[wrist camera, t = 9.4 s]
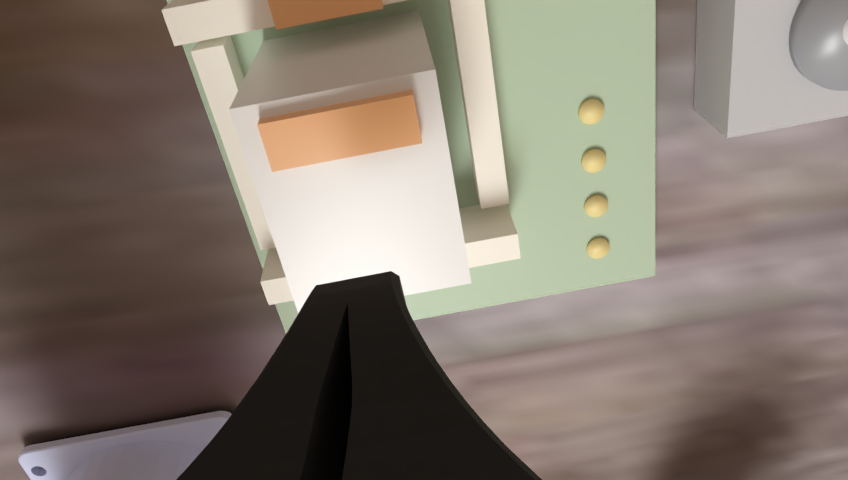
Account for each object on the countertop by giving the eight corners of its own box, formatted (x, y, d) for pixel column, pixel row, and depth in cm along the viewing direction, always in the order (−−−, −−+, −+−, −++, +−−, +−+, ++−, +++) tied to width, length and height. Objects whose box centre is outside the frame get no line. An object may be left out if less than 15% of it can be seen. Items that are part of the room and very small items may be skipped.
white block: (449, 185, 20) (473, 290, 15) (313, 211, 20) (297, 323, 15) (418, 9, 17) (436, 74, 13) (263, 40, 17) (225, 114, 13)
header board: (644, 258, 23) (682, 318, 20) (291, 324, 23) (281, 391, 20) (640, -150, 17) (695, -146, 14) (160, -53, 17) (120, -30, 14)
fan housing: (897, 70, 20) (967, 102, 18) (693, 109, 20) (736, 145, 18) (933, -119, 17) (1020, -112, 15) (699, -73, 18) (749, -59, 15)
